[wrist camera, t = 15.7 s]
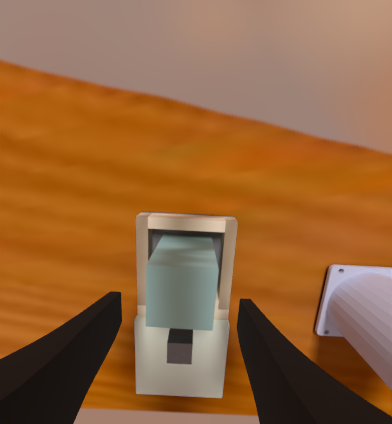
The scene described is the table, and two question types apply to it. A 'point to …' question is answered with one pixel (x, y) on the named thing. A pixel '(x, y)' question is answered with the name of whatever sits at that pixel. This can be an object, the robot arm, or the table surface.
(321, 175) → the table surface
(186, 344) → the sliding cover
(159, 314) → the teal block
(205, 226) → the sliding lid box
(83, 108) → the table surface
